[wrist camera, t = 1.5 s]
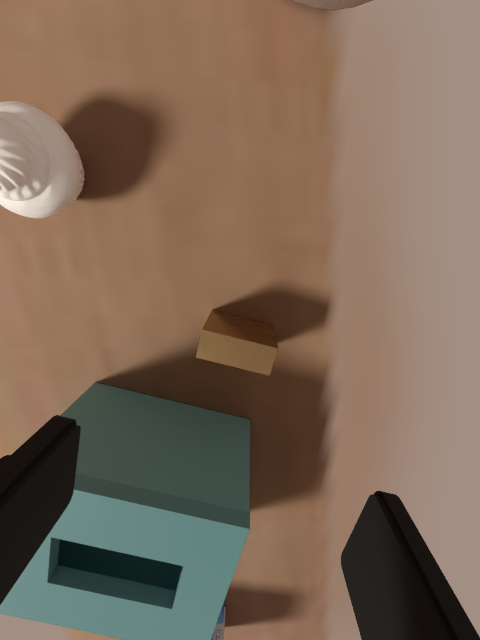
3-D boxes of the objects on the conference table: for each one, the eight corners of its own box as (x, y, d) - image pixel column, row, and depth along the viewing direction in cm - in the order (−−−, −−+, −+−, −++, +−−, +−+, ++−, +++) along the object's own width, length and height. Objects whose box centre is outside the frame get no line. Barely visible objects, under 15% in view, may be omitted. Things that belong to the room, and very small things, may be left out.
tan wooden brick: (212, 309, 23) (202, 329, 18) (272, 324, 23) (278, 348, 19) (206, 332, 24) (195, 357, 19) (265, 347, 24) (269, 375, 19)
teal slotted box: (95, 382, 25) (0, 472, 16) (250, 419, 26) (249, 529, 16) (82, 486, 29) (-2, 613, 19) (219, 517, 29) (204, 656, 20)
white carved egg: (113, 217, 21) (50, 209, 15) (33, 223, 22) (-64, 219, 15) (95, 120, 20) (14, 61, 13) (8, 128, 20) (-115, 76, 13)
